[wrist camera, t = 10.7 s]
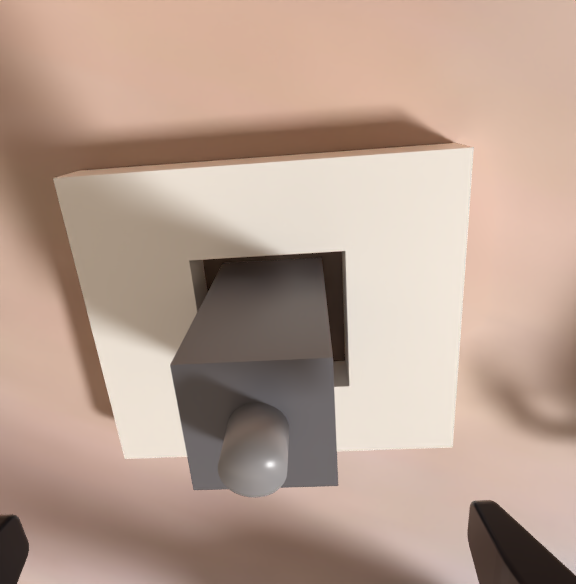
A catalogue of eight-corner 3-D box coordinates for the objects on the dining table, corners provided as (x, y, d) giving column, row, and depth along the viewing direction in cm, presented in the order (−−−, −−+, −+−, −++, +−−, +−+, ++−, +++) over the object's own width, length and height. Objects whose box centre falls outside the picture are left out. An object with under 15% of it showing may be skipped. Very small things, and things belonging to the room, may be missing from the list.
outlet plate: (455, 142, 17) (473, 147, 15) (439, 417, 21) (452, 447, 19) (79, 170, 18) (52, 178, 16) (140, 429, 22) (124, 459, 20)
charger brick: (321, 257, 19) (337, 393, 10) (325, 345, 20) (341, 532, 11) (222, 263, 19) (151, 401, 10) (234, 349, 20) (180, 536, 12)
